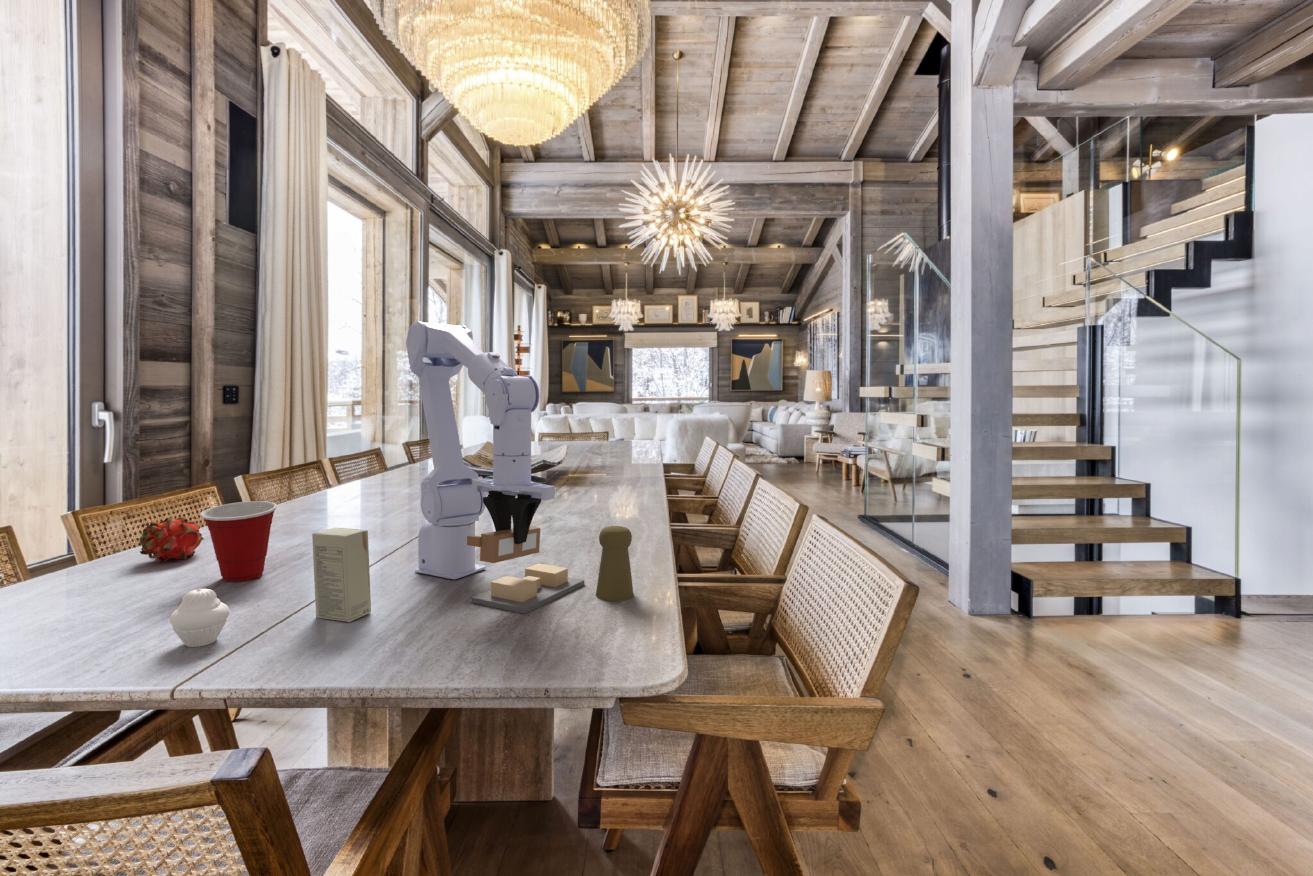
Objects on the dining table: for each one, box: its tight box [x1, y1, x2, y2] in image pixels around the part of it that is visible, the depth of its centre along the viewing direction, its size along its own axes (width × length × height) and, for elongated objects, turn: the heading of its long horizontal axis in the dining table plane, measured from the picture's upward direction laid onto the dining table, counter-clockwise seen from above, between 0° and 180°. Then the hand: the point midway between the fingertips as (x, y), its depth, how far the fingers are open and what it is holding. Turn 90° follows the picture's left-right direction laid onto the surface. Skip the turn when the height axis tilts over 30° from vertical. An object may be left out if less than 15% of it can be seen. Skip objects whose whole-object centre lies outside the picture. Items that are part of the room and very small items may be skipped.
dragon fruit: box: [139, 516, 205, 563], centre depth 119 cm, size 8×8×12 cm
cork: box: [595, 525, 634, 602], centre depth 103 cm, size 6×6×11 cm
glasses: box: [467, 525, 541, 564], centre depth 101 cm, size 5×12×4 cm, turn 153°
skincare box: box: [311, 527, 372, 623], centre depth 92 cm, size 6×4×12 cm
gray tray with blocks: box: [471, 562, 585, 615], centre depth 103 cm, size 10×16×3 cm, turn 154°
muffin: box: [169, 587, 230, 648], centre depth 81 cm, size 6×6×7 cm
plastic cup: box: [199, 500, 278, 583], centre depth 108 cm, size 11×11×12 cm
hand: (512, 541), depth 100 cm, fingers closed on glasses, 3 cm apart
